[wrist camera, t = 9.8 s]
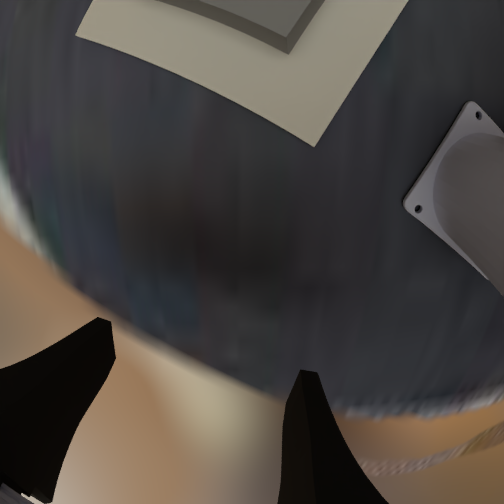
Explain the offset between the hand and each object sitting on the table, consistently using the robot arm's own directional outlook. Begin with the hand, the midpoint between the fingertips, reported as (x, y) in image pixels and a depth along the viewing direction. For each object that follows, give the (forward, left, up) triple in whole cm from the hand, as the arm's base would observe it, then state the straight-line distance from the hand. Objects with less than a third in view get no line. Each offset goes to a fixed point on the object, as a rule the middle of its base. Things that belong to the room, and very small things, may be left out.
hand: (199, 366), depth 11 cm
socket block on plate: (+8, -16, -9) cm, 20 cm away
